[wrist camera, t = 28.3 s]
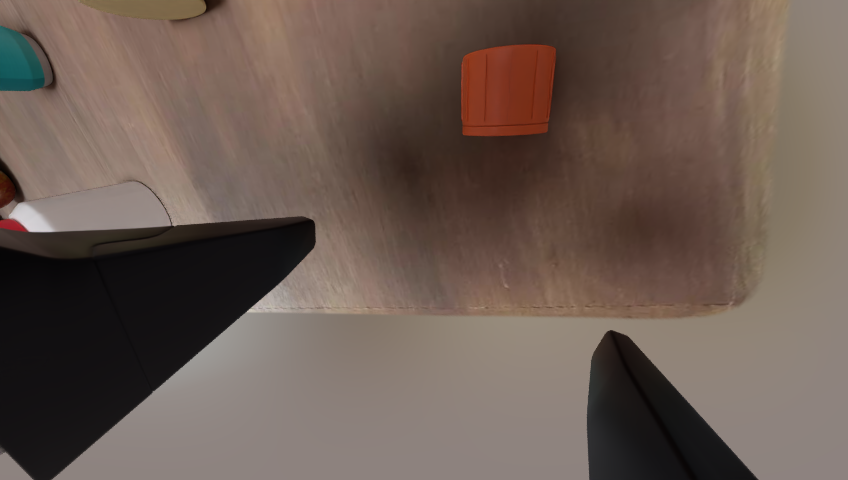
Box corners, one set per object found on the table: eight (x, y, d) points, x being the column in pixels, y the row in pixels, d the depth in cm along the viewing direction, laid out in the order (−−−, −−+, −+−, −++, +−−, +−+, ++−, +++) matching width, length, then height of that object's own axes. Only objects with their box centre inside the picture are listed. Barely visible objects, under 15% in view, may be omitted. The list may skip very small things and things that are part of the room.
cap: (554, 38, 11) (544, 135, 12) (557, 55, 14) (549, 129, 15) (450, 52, 12) (451, 136, 14) (475, 64, 16) (474, 131, 17)
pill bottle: (126, 214, 37) (-16, 252, 28) (125, 166, 33) (-44, 192, 24) (170, 255, 37) (41, 307, 28) (175, 212, 33) (23, 256, 24)
